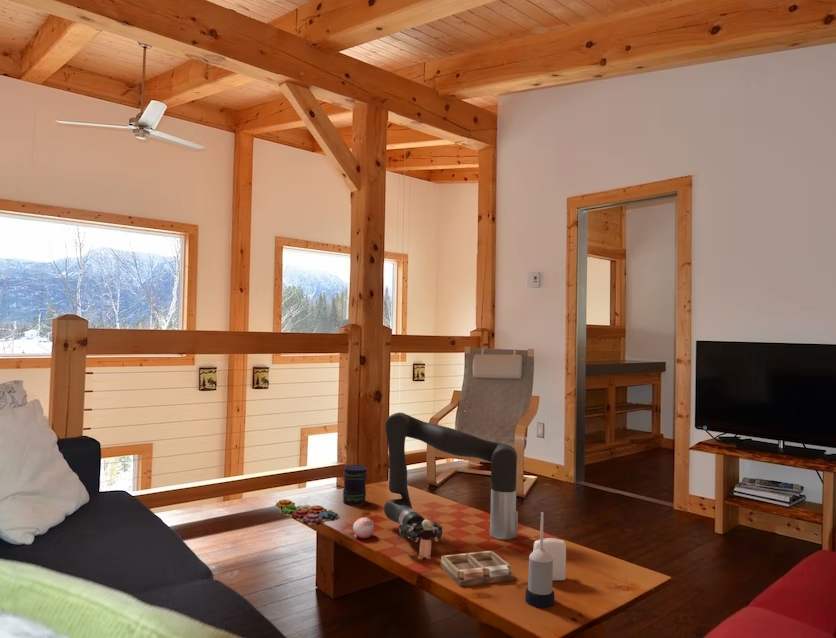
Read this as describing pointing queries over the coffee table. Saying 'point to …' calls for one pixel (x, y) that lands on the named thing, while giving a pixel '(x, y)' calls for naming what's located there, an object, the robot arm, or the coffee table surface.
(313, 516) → the gear puzzle
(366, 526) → the onion
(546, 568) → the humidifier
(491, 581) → the wooden divided tray
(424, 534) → the grandmother figurine
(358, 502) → the storage jar
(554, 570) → the photo printer
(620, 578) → the coffee table surface
